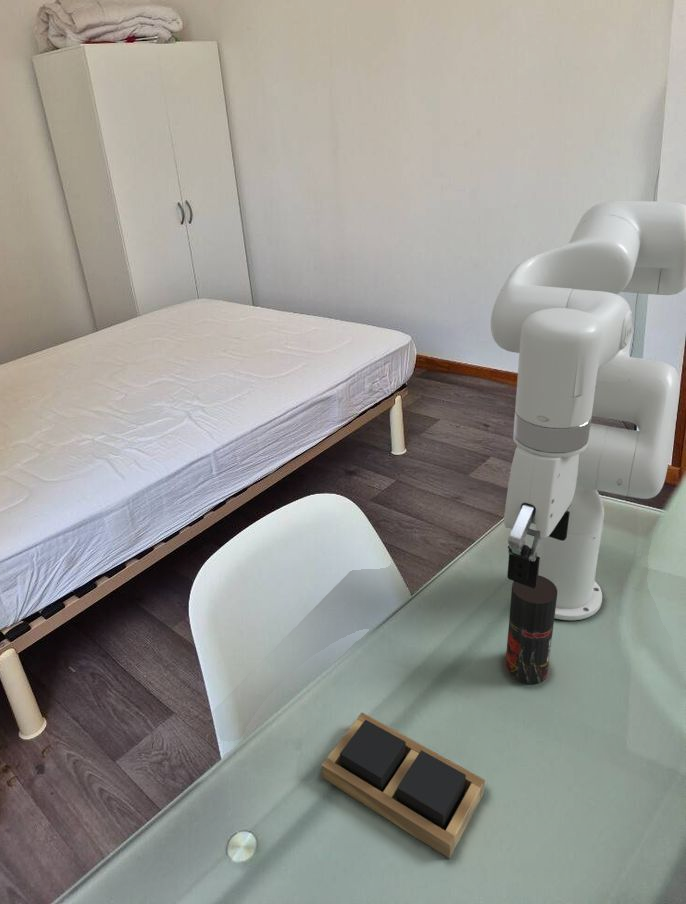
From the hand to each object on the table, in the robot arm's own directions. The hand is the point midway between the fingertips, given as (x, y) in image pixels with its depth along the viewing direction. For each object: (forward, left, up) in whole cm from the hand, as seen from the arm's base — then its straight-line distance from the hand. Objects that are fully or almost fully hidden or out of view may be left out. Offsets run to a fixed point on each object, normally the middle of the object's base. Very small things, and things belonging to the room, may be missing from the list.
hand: (537, 558), depth 79 cm
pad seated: (+16, -13, -28) cm, 35 cm away
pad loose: (+16, -5, -28) cm, 33 cm away
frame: (+16, -9, -28) cm, 34 cm away
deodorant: (-10, -3, -28) cm, 30 cm away
